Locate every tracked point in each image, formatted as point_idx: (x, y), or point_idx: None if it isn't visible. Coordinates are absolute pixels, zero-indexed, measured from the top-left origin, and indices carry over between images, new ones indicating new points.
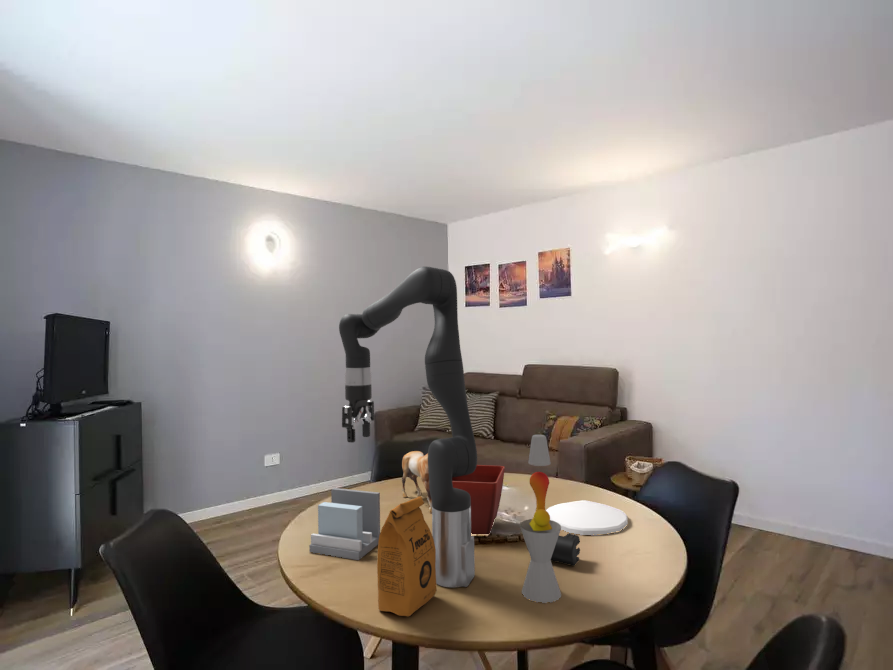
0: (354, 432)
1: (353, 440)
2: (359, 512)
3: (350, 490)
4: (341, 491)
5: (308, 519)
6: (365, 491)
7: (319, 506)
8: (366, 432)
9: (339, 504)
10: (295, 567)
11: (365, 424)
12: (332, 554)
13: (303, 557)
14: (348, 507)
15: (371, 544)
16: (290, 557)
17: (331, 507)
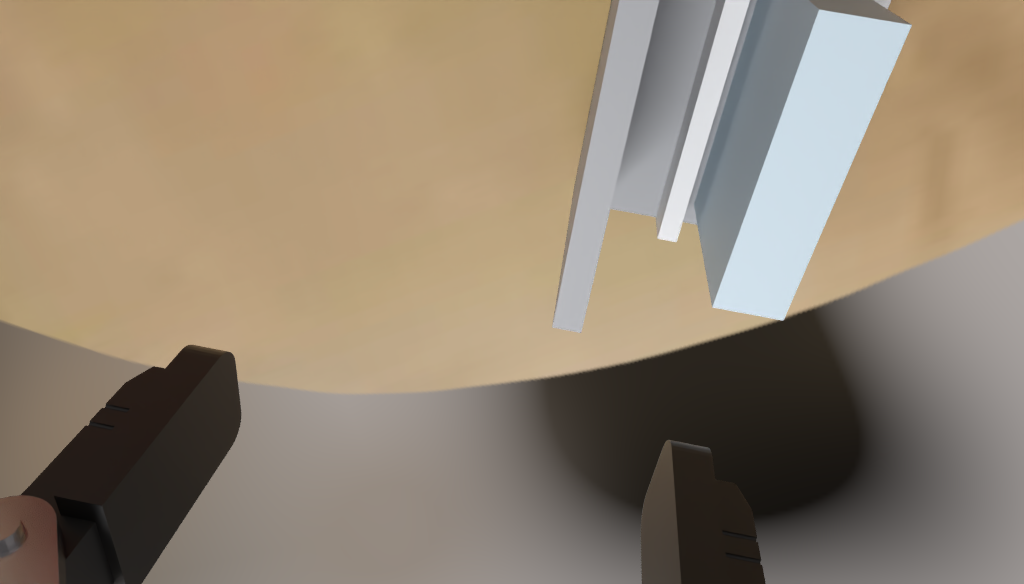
0: (710, 574)
1: (710, 469)
2: (856, 9)
3: (597, 198)
4: (598, 258)
5: (400, 362)
6: (612, 70)
7: (785, 307)
8: (201, 427)
9: (766, 198)
10: (952, 220)
11: (121, 557)
12: None
13: (836, 229)
14: (845, 110)
15: None
16: (833, 280)
17: (822, 229)
